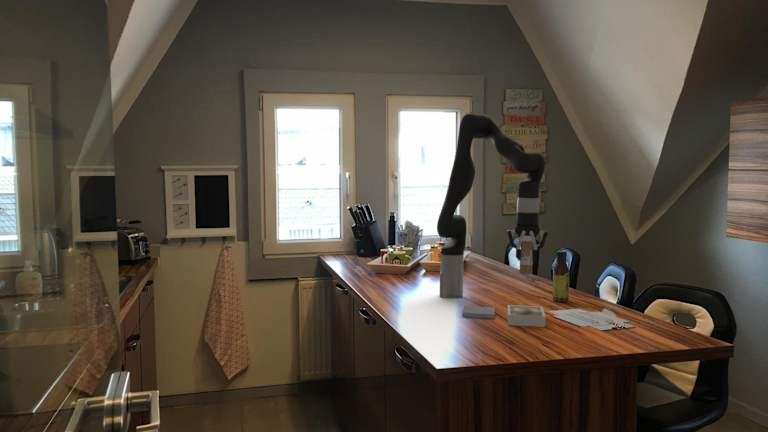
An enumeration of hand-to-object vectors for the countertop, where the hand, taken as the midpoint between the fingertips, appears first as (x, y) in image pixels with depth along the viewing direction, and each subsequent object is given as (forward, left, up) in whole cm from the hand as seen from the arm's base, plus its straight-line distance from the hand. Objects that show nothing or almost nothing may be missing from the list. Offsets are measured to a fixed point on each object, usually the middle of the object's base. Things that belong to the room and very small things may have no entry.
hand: (526, 259), depth 209 cm
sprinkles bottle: (0, 0, -5) cm, 5 cm away
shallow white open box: (0, -4, -20) cm, 21 cm away
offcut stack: (-1, -8, -21) cm, 22 cm away
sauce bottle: (+15, +32, -21) cm, 41 cm away
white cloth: (+22, +3, -21) cm, 31 cm away
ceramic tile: (-16, +2, -20) cm, 26 cm away
